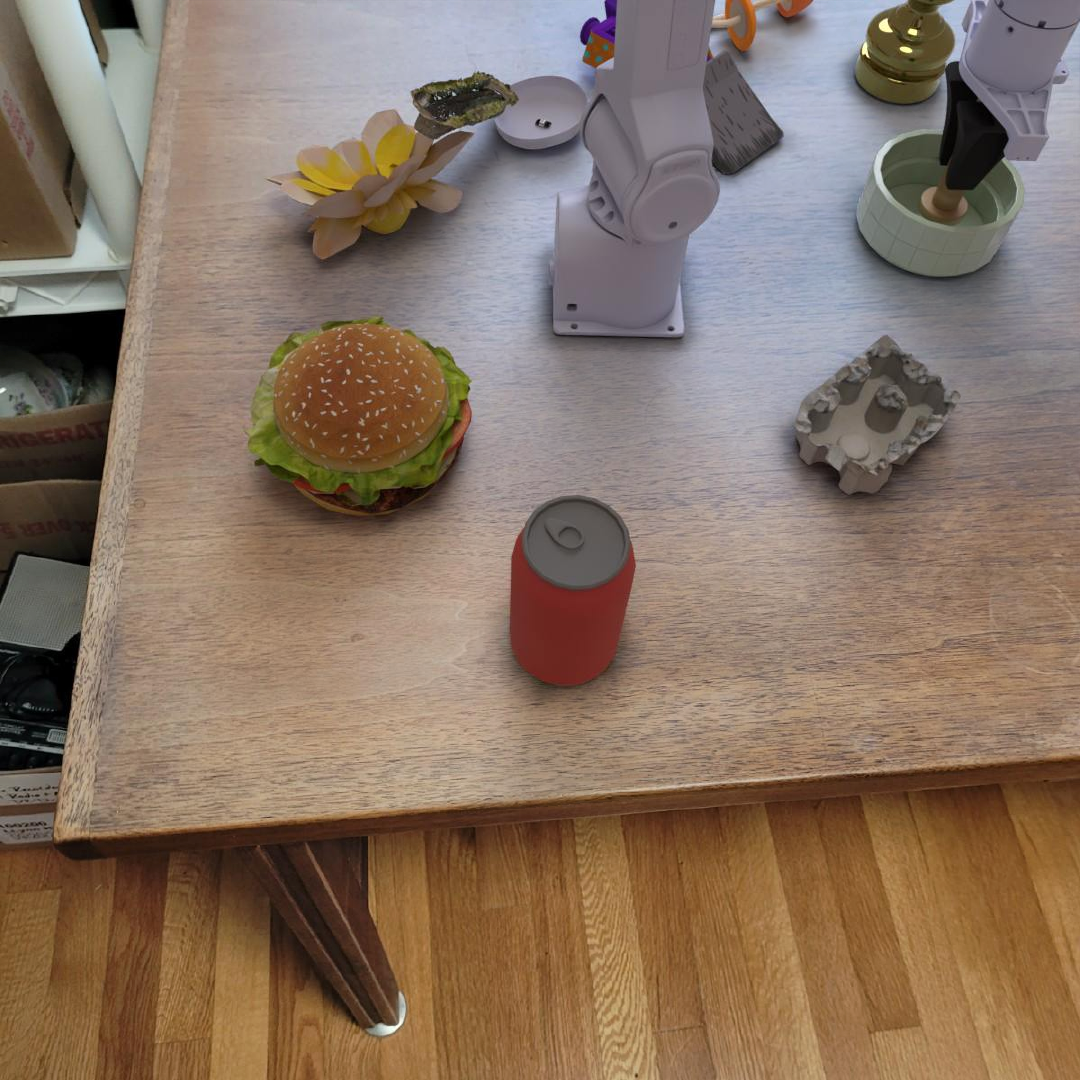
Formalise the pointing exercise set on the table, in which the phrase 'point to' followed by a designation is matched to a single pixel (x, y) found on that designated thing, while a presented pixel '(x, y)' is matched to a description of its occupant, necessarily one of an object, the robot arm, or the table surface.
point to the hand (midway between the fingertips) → (956, 175)
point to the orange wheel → (751, 17)
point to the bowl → (924, 243)
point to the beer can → (570, 589)
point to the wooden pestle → (943, 203)
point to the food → (360, 416)
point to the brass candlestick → (905, 52)
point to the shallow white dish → (542, 112)
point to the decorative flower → (371, 181)
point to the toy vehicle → (726, 93)
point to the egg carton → (872, 415)
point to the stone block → (460, 103)
